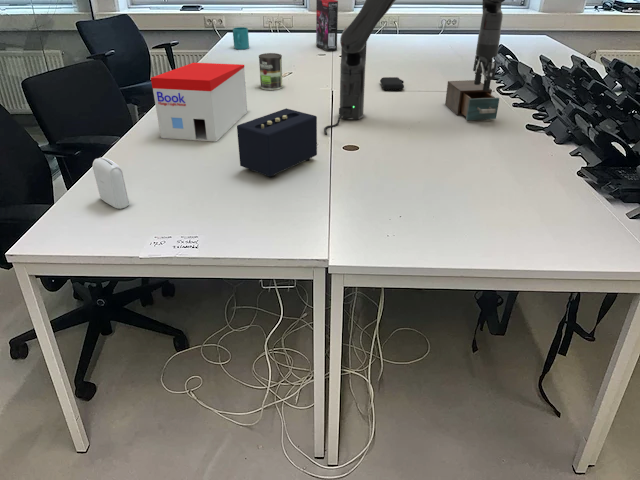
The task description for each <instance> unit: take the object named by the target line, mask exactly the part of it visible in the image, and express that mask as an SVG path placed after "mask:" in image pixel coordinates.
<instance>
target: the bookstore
mask: <svg viewBox="0 0 640 480" xmlns="http://www.w3.org/2000/svg"><path fill="white" fill-rule="evenodd" d="M150 83H151V88H152V93H153V99H154V104H155V109H156V118H157V122H158V128H159V135H160V139H172V140H187V141H200V142H201V141H202V142H215V143H216V142H218V140H220V139H221V138H222V137H223V136H224V135H225V134H226V133H227V132H228V131H229V130H230V129H231V128H232V127H234V125H236V124H237V122H239V121H240V119H242V118H243V116H245V115H246V114H247V113H248V101H247V88H246V87H247V86H246V73H245V64H235V63H214V62H213V63H212V62H191V63H188V64H185V65H183V66H180V67H177V68H174V69H171V70H168V71H166V72H163V73H160V74H157V75H154V76H151V77H150Z"/></svg>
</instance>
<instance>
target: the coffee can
mask: <svg viewBox="0 0 640 480" xmlns="http://www.w3.org/2000/svg"><path fill="white" fill-rule="evenodd" d="M282 59H283V55H282V54H281V53H276V52H265V53H261V54H259V55H258V61H259V62H258V63H259V65H258V66H259V80H260V89H261V90H265V91H277V90H281V89H282V88H283V87H284V85H283V60H282Z"/></svg>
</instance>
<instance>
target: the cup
mask: <svg viewBox="0 0 640 480" xmlns="http://www.w3.org/2000/svg"><path fill="white" fill-rule="evenodd" d="M232 37H233V39H232V40H233V48H234V49H235V50H241V51H242V50H248V49H249V48H250V40H249V39H250V38H249V28H248V27H245V26H237V27H233V28H232Z"/></svg>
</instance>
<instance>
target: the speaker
mask: <svg viewBox="0 0 640 480" xmlns="http://www.w3.org/2000/svg"><path fill="white" fill-rule="evenodd" d="M236 133H237V134H236V135H237V143H238V144H237V145H238V155H239V156H238V157H239V166H240V167H242V168H245V169H248V171H252V172H256V173H258V174H262V175H264V176H266V177H268V178H274V177H275V175H277V174H279V173H281V172H284V171H285V170H288V169H290V168H292V167H294V166H296V165H299V164H301V163H303V162H309V161H310V160H311V159H312V158H314V157H316V156H317V155H318V117H317V116H316V115H314V114H310V113H306V112H302V111H298V110H295V109H291V108H283V109H281V110H278V111H275V112H272V113H268V114H265V115H262V116H260V117H257V118H254V119H251V120H249V121H246V122H243V123H240V124H237V125H236Z"/></svg>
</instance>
